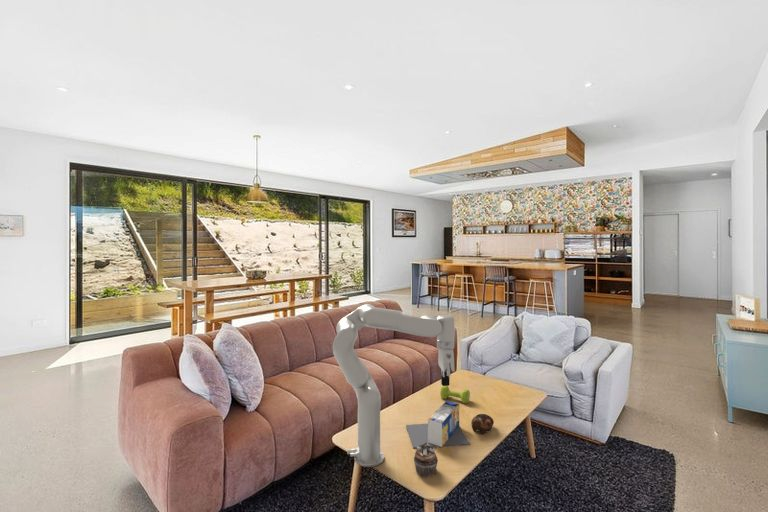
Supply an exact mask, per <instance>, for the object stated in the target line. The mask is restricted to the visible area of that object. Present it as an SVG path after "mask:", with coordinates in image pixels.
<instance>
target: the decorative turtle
mask: <svg viewBox="0 0 768 512" xmlns="http://www.w3.org/2000/svg"><path fill="white" fill-rule="evenodd" d="M494 423H495V422H494V418H492V417H491V416H490V415H488V414H485V413H478V414H476V415H475V416H474V417H473V418H472V420H471V423H470V424H471V428H472V430H473V432H476V431H479V432H480V434H481V435H486V433H487V432H488V433H490V432H491V429H492V428H493V426H494Z"/></svg>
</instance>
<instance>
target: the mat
mask: <svg viewBox="0 0 768 512" xmlns="http://www.w3.org/2000/svg"><path fill="white" fill-rule="evenodd" d="M405 428H406V431H407V434H408V437H409V440H410V442H411V445H412V449H415V450H417V447H418V446H419V445H422V444H424V443H427V444H428V445H429V446H430V447H433V448H443V447H444V448H445V446H446V447H456V446H471V443H470V441H469V439H468V438H467V436H466V434H465V433H464V431H463V430H462V428H461V426H460V425H459V426H458V428H457V429H456V430H455V431H454V433H453V434H452V435H451V436H450V438H449V439H448V440H447V441H446V443H445V444H444V445H443V446H442V447H441V446H437V445H434V444H431V443H428V423H414V424H406V425H405Z"/></svg>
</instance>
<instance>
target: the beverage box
mask: <svg viewBox="0 0 768 512" xmlns="http://www.w3.org/2000/svg"><path fill="white" fill-rule="evenodd" d="M427 424H428V443H431V444H434V445H437V446H441V447H440V448H443V447H442V446H443V445H444V444H445V443H446V441H447V440H448V439H449V438H450V436H451V435H452V434H453V433H454V431H455V430H456V429H457V428H458V426H460V403H456V402H451V401H448V400H447V401H445V402H444V403H443V404H442V405H441V406H440V407H439V408H438V409H437V410H436V411H434V413H433V414H432V415H431V416H430V417H428V419H427Z"/></svg>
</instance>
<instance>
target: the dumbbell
mask: <svg viewBox="0 0 768 512" xmlns="http://www.w3.org/2000/svg"><path fill="white" fill-rule="evenodd" d="M439 394H440V397H441V399H442V400H446V399H447V398H448V397H454V398H458V399H460V400H461V402H462V403H463V404H465V405H466V404H469V401H470V398H471V392H470V390H469V389H468V388H464V389H463V390H462V391H461V392H460V391H455V390H450V388H449V386H442V385H441V388H440V393H439Z"/></svg>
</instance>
